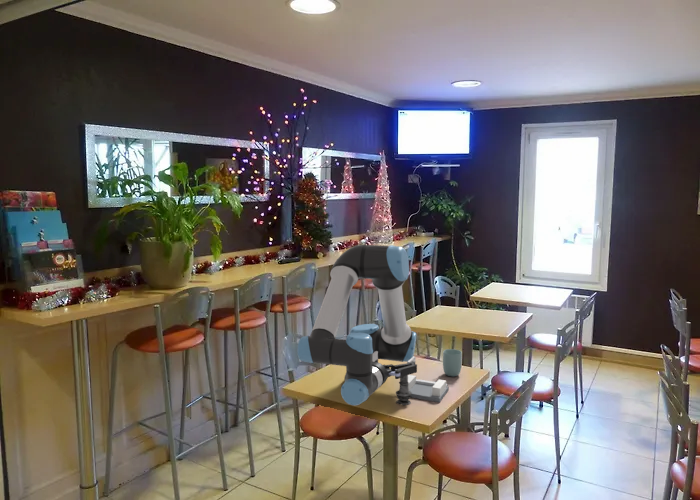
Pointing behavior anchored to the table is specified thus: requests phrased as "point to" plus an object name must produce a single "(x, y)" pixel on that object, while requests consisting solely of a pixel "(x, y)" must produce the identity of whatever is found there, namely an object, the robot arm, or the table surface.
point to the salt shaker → (403, 392)
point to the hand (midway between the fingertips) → (395, 357)
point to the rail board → (427, 389)
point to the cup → (452, 362)
